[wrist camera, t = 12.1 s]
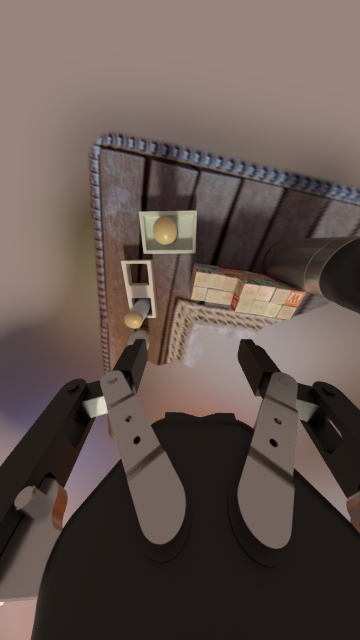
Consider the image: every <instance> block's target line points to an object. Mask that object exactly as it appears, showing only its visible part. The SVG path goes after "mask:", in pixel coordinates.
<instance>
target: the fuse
mask: <svg viewBox="0 0 360 640" xmlns="http://www.w3.org/2000/svg"><path fill="white" fill-rule="evenodd" d="M150 308H151V300H150V299H149V298H139V300H138V301H137V302H136V303H135V304H134V306H133V307H132V308H131V309H130V311H129V312H128V313H127V314H126V315H125V318H124V321H125V323H126V325H127V326H129V327H131V328H138V327H140V326H141V325H142V323H143V321H144V319H145V317H146V315H147V313H148V311H149V309H150Z"/></svg>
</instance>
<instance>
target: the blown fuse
mask: <svg viewBox="0 0 360 640" xmlns="http://www.w3.org/2000/svg"><path fill="white" fill-rule="evenodd" d="M153 235H154V237H155V239H156V240H157V241H158V242H159V243H161V244H165V245H166V244H171V243H174V242H175V241H176V240H177V238H178V229H177V227H176V225H175V223H174V221H173V220H172V219H170V218H169V217H160V218H158V219H157V220H156V221H155V223H154V225H153Z"/></svg>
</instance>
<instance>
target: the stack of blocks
mask: <svg viewBox="0 0 360 640" xmlns="http://www.w3.org/2000/svg"><path fill="white" fill-rule="evenodd" d="M190 292H191V299H193V300H200V301H206V302H213V303H219V304H226V305H231V307H232V308H233V310H234V311H235V312H243V313H251V314H258V315H263V316H269V317H276V318H281V319H287V320H289V319H290V318H291V316H292V314H293V313H294V311H295V310H296V308H297V306H298V305H299V303H300V302H301V300H302V299H303V297H304V295H305V294H306V292H304V291H302V290H300V289H297V288H296V287H294V286H291V285H289V284H286V283H283V282H281V281H279V280H276V279H275V278H272V277H270V276H267V275H263V274H258V273H253V272H248V271H242V270H241V271H239V270H234V269H227V268H221V267H217V266H213V265H207V264H200V263H194V266H193V271H192V276H191V281H190Z"/></svg>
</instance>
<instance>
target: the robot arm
mask: <svg viewBox="0 0 360 640" xmlns="http://www.w3.org/2000/svg"><path fill="white" fill-rule="evenodd" d="M264 269H265V272H266V274H267V275H268V276H270V277H272V278H275V279H276V280H279V281H281V282H283V283H286V284H289V285H291V286H294V287H297V288H299V289H302V290H304V291H307V292H310V293H312V294H315V295H318V296H320V297H323V298H326V299H328V300H331V301H333V302H335V303H337V304H338V305H340V306H342V307H345V308H347V309H350V310H352V311H355V312H357V313H359V314H360V236H348V237H328V238H307V239H287V240H283V241H280V242H278V243H277V244H275V245H274V246H273V247H272V248H271V249H270V250H269V252H268V253H267V255H266V257H265V260H264ZM147 358H148V353H147V346H146V340H145V339H135V341H134V343H133V345H128V346H127V347H126V348H125V349H124V351H123V353H122V354H121V356H120V358H119V360H118V361H117V363H116V365H115V367H114V369H113V370H112V371H111V372H108V373H107V374H105V375H104V376H103V377H102V378H101V380H100V381H96V382H92V383H86V381H85V380H84V379H75V380H72V381H70V382H68V383H67V384H65V385H64V386H63V387H62V388H61V389H60V391H59V392H58V393H57V394H56V396H55V397H54V398H53V400H52V401H51V402H50V404H49V405H48V406H47V407H46V409H45V410H44V411H43V413H42V414H41V415H40V417H39V418H38V419H37V420H36V421H35V423H34V424H33V425H32V427H31V428H30V429H29V430H28V432H27V433H26V434H25V436H24V437H23V438H22V440H21V441H20V442H19V444H17V446H16V447H15V448H14V450H13V451H12V452H11V453H10V455H9V456H8V457H7V459H6V460H5V461H4V463H3V464H2V465H1V466H0V606H1V605H2V604H4V602H9V601H21V600H33V599H37V605H36V612H35V619H34V625H33V631H32V636H31V640H360V410H359V409H358V408H357V407H356V406H355V405H354V404H353V403H352V402H351V401H350V400H349V399H348V398H347V397H346V396H345V395H344V394H343V393H342V392H341V391H340V390H339V389H337V388H336V387H334V386H332V385H330V384H328V383H325V382H320V381H318V382H315V383H314V384H313V386H308V385H303V384H300V383H297V382H296V380H295V379H294V378H293V377H291V376H290V375H288V374H285V373H282V372H281V371H280V370H279V368H278V367H277V366H276V364H275V363H274V362H273V361H272V360H271V359H270V357H269V355H267V353H266V351H265V350H264V349H263V348H261V347H260V346H258V345H255V343H254V342H253V341H252V340H251V339H241V341H240V346H239V350H238V361H239V363H240V365H241V368H242V370H243V372H244V374H245V376H246V378H247V380H248V382H249V384H250V387H251V388H252V391H253V393H254V395H255V396H261V397H262V399H263V400H262V403H261V406H260V409H259V412H258V415H257V419H256V422H255V425H254V428H252V427H250V426H249V425H247V424H245V423H244V422H241V421H239V420H236V418H235V415H234V413H215V414H212V415H208V416H205V417H196V416H193V415H189V414H185V413H179V412H178V413H176V412H166V414H165V418H164V419H161V420H159V421H156V422H155V423H153V424H152V425H150V423H149V422H148V419H147V418H146V416H145V414H144V411H143V410H142V408H141V406H140V404H139V402H138V400H137V398H136V396H135V394H137V391H138V388H139V384H140V381H141V378H142V375H143V372H144V368H145V365H146V362H147ZM105 413H108V415H109V418H110V421H111V425H112V428H113V432H114V435H115V439H116V442H117V446H118V449H119V452H120V456H121V459H120V460H119V461H118V463H117V464H116V465H115V466H114V467H113V468H112V470H111V471H110V472H109V473H108V474H107V476H106V477H105V478H104V479H103V480H102V481H101V482H100V484H99V485H98V486H97V487H96V488H95V489H94V490H93V492H92V493H91V494H90V495H89V496H88V497H87V499H86V500H85V501H84V502H83V503H82V504H81V506H80V507H79V508H78V509H77V510H76V511H75V513H74V514H73V515H72V516H71V518H70V519H69V520H68V522H67V523H66V525H65V526H64V528H63V524H62V523H63V516H64V512H65V509H66V506H67V500H68V496H67V492H66V490H65V489H64V486H65V484H66V482H67V480H68V478H69V476H70V473H71V471H72V469H73V467H74V464H75V462H76V460H77V458H78V456H79V453H80V451H81V449H82V447H83V444H84V442H85V440H86V438H87V436H88V433H89V431H90V429H91V427H92V424H93V422H94V420H95V418H96V416H99V415H102V414H105ZM298 419H300V421H301V423H302V424H303V426H304V427H305V429H306V431H307V433H308V434H309V436H310V438H311V439H312V441H313V443H314V444H315V446H316V448H317V449H318V451H319V452H320V454H321V456H322V458H323V459H324V461H325V463H326V464H327V466H328V467H329V469H330V471H331V473H332V474H333V476H334V477H335V479H336V481H337V482H338V484H339V486H340V487H341V489H342V491H343V492H344V494H345V496H346V497H347V502H346V506H347V510H348V513H349V515H350V517H351V519H350V521H351V523H350V522H349V521H348V520H347V519H346V518H345V517H344V516H343V515H342V514H341V513H340V512H339V511H338V510H337V509H336V508H335V507H334V506H333V505H332V504H331V503H330V502H329V501H328V500H327V499H326V498H325V497H323V496H322V495H321V494H320V493H319V492H318V491H317V490H316V489H315V488H314V487H313V486H312V485H311V484H310V483H309V482H308V481H307V480H306V479H305V478H304V477H303V476H302V475H301V474H300V473H299V472H298V471H297V470H296V469H295V468H294V458H295V447H296V435H297V423H298ZM330 420H331V421H332V422H333V424H334V425H335V426H336V427H337V429H338V430H339V431H340V433H341V435H342V438H343V439H342V438H341V436H340V435H339V434H338V433H337V431H336V430H335V428H334V427H333V426H332V424H331V423H330V422H329V421H330Z"/></svg>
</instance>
